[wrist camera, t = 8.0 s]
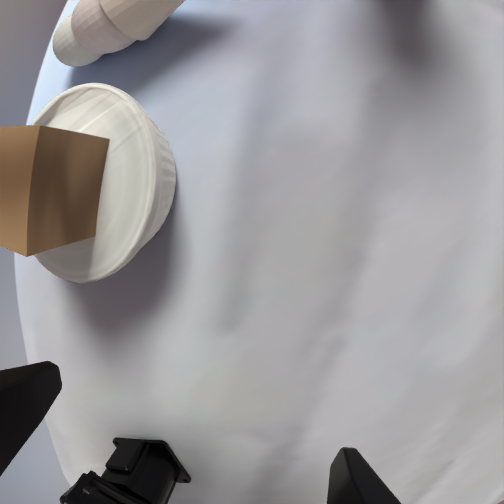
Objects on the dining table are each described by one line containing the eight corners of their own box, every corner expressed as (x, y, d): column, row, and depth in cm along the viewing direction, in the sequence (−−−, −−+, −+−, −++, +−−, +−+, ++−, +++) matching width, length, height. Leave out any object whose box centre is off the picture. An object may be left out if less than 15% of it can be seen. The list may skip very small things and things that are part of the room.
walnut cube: (95, 236, 14) (26, 256, 9) (35, 219, 15) (-29, 232, 10) (109, 139, 13) (40, 125, 8) (45, 135, 13) (-19, 128, 9)
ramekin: (105, 80, 18) (61, 59, 12) (226, 151, 18) (201, 136, 12) (43, 208, 20) (-4, 215, 15) (140, 292, 20) (99, 321, 15)
